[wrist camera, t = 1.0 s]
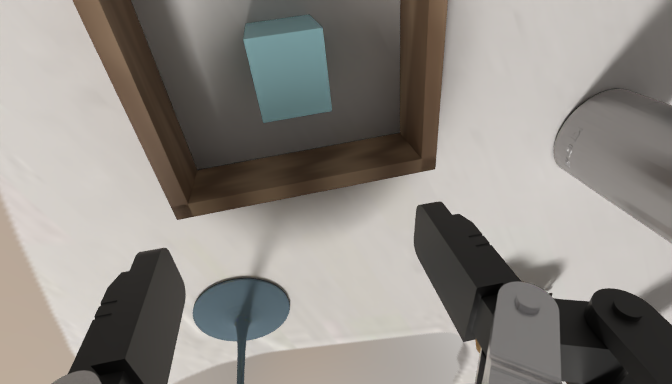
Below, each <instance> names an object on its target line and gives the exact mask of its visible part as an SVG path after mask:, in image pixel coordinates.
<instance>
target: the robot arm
mask: <svg viewBox="0 0 672 384" xmlns="http://www.w3.org/2000/svg"><path fill="white" fill-rule="evenodd" d="M554 158H555V161H556V163H557V165H558V166H559V167H560V168H561V169H563V170H564V171H566V172H567V173H569V174H570V175H572V176H573V177H575V178H576V179H578V180H579V181H581V182H582V183H583V184H585V185H586V186H588V187H589V188H590V189H592V190H593V191H595V192H596V193H598V194H599V195H601V196H602V197H604V198H605V199H607V200H608V201H610V202H611V203H613V204H614V205H616V206H617V207H618V208H620V209H621V210H623V211H624V212H626V213H627V214H629V215H630V216H632V217H633V218H635V219H636V220H638V221H639V222H641V223H642V224H644V225H645V226H646V227H648V228H649V229H651V230H652V231H654V232H655V233H657V234H658V235H660V236H661V237H663V238H664V239H666V240H667V241H669V242H670V243H672V105H669V104H666V103H664V102H661V101H658V100H655V99H652V98H649V97H646V96H643V95H640V94H637V93H634V92H632V91H629V90H626V89H612V90H607V91H604V92H602V93H599V94H597V95H595V96H593V97H592V98H590V99H588V100H587V101H586V102H584V103H583V104H582V105H580V106H579V107H578V108H577V109H576V110H575V111H574V112H573V113H572V114H571V115H570V116H569V118H568V119H567V120H566V121H565V123H564V124H563V126H562V128H561V129H560V131H559V133H558V136H557V138H556V141H555V145H554ZM414 247H415V251H416V254H417V257H418V259H419V261H420V263H421V264H422V266H423V268H424V270H425V272H426V274H427V276H428V277H429V279H430V281H431V283H432V285H433V287H434V288H435V290H436V292H437V294H438V296H439V298H440V300H441V301H442V303H443V305H444V307H445V309H446V311H447V313H448V314H449V316H450V318H451V320H452V322H453V324H454V325H455V327H456V329H457V331H458V333H459V335H460V337H461V338H462V340H463V342H466V341H470V340H474V339H476V340H477V341H478V343H479V345H480V347H481V351H480V355H479V361H478V367H477V373H476V379H475V384H562V381H565V382H568V383H569V384H672V325H671V324H670V323H669V322H668V321H667V320H666V319H665V318H664V317H663V316H661V315H660V314H659V313H658V312H657V311H656V310H655V309H654V308H653V307H652V306H651V305H649V304H648V303H647V302H646V301H644V300H643V299H641V298H639V297H637V296H635V295H633V294H631V293H629V292H626V291H622V290H618V289H610V288H608V289H601V290H598V291H596V292H595V293H594V294H593V296H592V298H591V300H590V302H587V301H575V300H563V299H554V298H552V296H550V295H549V294H548V293H547V292H546V291H544V290H543V289H541V288H540V287H538V286H535V285H533V284H530V283H526V282H522V281H521V280H520V279H519V278H518V277H517V276H516V274H515V273H514V272H513V271H512V270H511V268H510V267H509V266H508V265H507V264H506V262H505V261H504V260H503V259H502V257H501V256H500V255H499V254H498V253H497V251H496V250H495V249H494V248H493V247H492V245H490V244H489V242H488V240H487V239H486V238H485V237H484V236H482V233H481V232H480V231H479V230H478V228H477V227H476V226H475V225H474V223H473V222H471V221H470V220H468V219H466V218H465V217H463V216H462V215H460V214H455V215H452V214H451V213H450V212H449V210H448V209H447V208H446V206H445V205H444V204H443V203H442V202H434V203H428V204H422V205H418V206H417V209H416V219H415V231H414ZM184 304H185V286H184V282H183V280H182V277H181V275H180V273H179V271H178V269H177V267H176V265H175V262H174V260H173V258H172V256H171V254H170V252H169V250H168V249H167V248H161V249H155V250H149V251H143V252H139V253H138V254H137V255H136V257H135V259H134V262H133V264H132V266H131V269H130V271H128V272H122V273H121V274H120V275H119V276H118V277H117V278H116V279H115V280H114V281H113V282H112V284H111V285H110V286H109V287H108V288H107V290H106V293H105V295H104V297H103V299H102V301H101V306H99V308H98V310H97V312H96V314H95V320H93V321H92V323H91V325H90V327H89V330H88V332H87V334H86V336H85V338H84V340H83V343H82V345H81V347H80V349H79V351H78V353H77V356H76V358H75V360H74V362H73V364H72V366H71V369H70V371H69V373H68V374H67V375H65V376H63V377H61V378H59V379H58V380H57V381H55V382H53V383H52V384H167V383H168V378H169V373H170V369H171V364H172V359H173V355H174V350H175V345H176V341H177V336H178V332H179V327H180V322H181V318H182V313H183V308H184Z"/></svg>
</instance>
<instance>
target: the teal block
mask: <svg viewBox="0 0 672 384" xmlns="http://www.w3.org/2000/svg"><path fill="white" fill-rule="evenodd" d="M243 40H244V45H245V49H246V53H247V57H248V61H249V65H250V70H251V74H252V78H253V82H254V86H255V90H256V95H257V99H258V103H259V107H260V111H261V116H262V120H263V123H266V122H272V121H278V120H284V119H290V118H295V117H301V116H307V115H313V114H319V113H324V112H330V111H332V105H331V97H330V88H329V79H328V70H327V61H326V53H325V44H324V35H323V28H322V27H321V26H320V25H319V24H318V23H317V22H316V21H315V20H314V19H313V18H312V17H311V16H310V15H302V16H295V17H288V18H281V19H274V20H267V21H260V22H253V23H246V25H245V31H244V38H243Z"/></svg>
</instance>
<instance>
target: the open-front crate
mask: <svg viewBox="0 0 672 384" xmlns="http://www.w3.org/2000/svg"><path fill="white" fill-rule="evenodd" d="M73 2H74V5H75V7H76V9H77V11H78V13H79V15H80V17H81V19H82V21H83V23H84V26H85V28H86V30H87V32H88V34H89V36H90V38H91V40H92V42H93V44H94V47H95V49H96V51H97V53H98V55H99V57H100V59H101V61H102V63H103V65H104V68H105V70H106V72H107V74H108V76H109V78H110V80H111V82H112V84H113V86H114V88H115V91H116V93H117V95H118V97H119V99H120V101H121V103H122V105H123V107H124V109H125V112H126V114H127V116H128V118H129V120H130V122H131V124H132V126H133V128H134V130H135V133H136V135H137V137H138V139H139V141H140V143H141V145H142V147H143V149H144V151H145V154H146V156H147V158H148V160H149V162H150V164H151V166H152V168H153V170H154V172H155V174H156V177H157V179H158V181H159V183H160V185H161V187H162V189H163V191H164V193H165V195H166V198H167V200H168V202H169V204H170V206H171V208H172V210H173V212H174V214H175V216H176V219H177V220H179V219H184V218H189V217H194V216H200V215H205V214H210V213H215V212H220V211H225V210H230V209H235V208H240V207H245V206H250V205H255V204H260V203H266V202H271V201H276V200H281V199H286V198H291V197H296V196H301V195H306V194H311V193H316V192H321V191H327V190H332V189H337V188H342V187H347V186H352V185H357V184H362V183H367V182H372V181H377V180H382V179H388V178H393V177H398V176H403V175H408V174H413V173H418V172H423V171H428V170H433V169H435V166H436V152H437V139H438V125H439V112H440V98H441V85H442V71H443V58H444V44H445V31H446V17H447V4H448V0H400V133H397V134H391V135H386V136H380V137H375V138H370V139H364V140H359V141H353V142H348V143H342V144H337V145H331V146H326V147H321V148H315V149H310V150H304V151H299V152H293V153H288V154H282V155H277V156H272V157H266V158H261V159H255V160H250V161H244V162H239V163H233V164H228V165H223V166H217V167H212V168H206V169H201V170H197V168H196V166H195V163H194V161H193V158H192V156H191V153H190V150H189V148H188V145H187V143H186V140H185V138H184V135H183V133H182V130H181V127H180V125H179V122H178V120H177V117H176V115H175V112H174V110H173V107H172V104H171V102H170V99H169V97H168V94H167V92H166V89H165V87H164V84H163V81H162V79H161V76H160V74H159V71H158V69H157V66H156V63H155V61H154V58H153V56H152V53H151V51H150V48H149V46H148V43H147V40H146V38H145V35H144V33H143V30H142V28H141V25H140V23H139V20H138V17H137V15H136V12H135V10H134V7H133V5H132V2H131V0H73Z"/></svg>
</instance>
